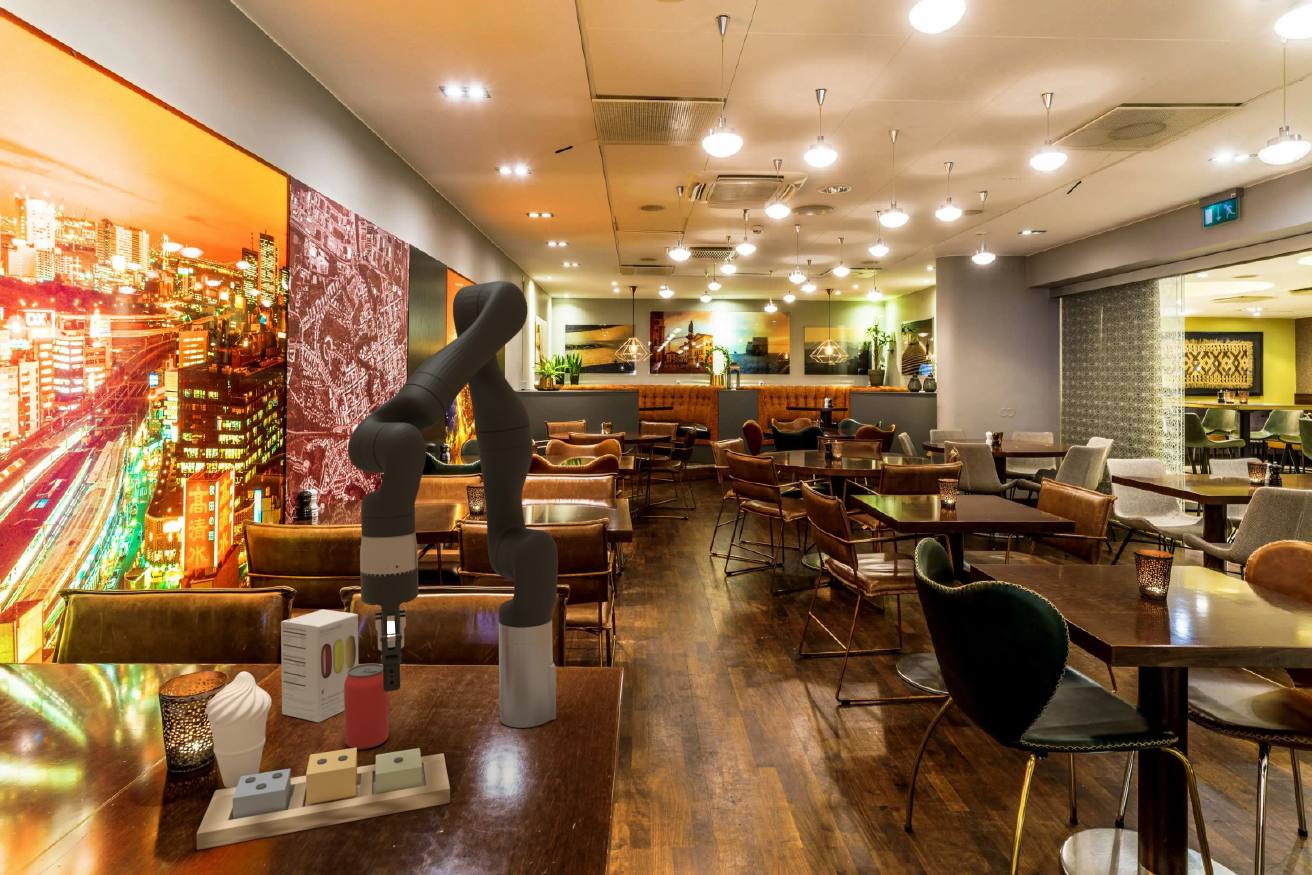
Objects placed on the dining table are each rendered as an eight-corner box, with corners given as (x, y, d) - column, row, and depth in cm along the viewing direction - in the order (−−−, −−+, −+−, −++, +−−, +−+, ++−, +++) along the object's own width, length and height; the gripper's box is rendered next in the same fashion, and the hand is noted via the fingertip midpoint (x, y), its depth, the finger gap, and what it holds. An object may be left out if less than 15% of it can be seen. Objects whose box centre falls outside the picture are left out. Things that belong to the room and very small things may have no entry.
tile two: (357, 775, 103) (356, 746, 103) (355, 795, 98) (355, 765, 98) (310, 782, 101) (310, 753, 101) (306, 804, 96) (305, 773, 96)
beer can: (373, 752, 114) (372, 677, 114) (336, 749, 116) (334, 674, 115) (396, 734, 121) (395, 663, 120) (361, 731, 122) (359, 660, 122)
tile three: (291, 796, 100) (290, 766, 100) (285, 819, 95) (285, 787, 95) (241, 805, 98) (241, 774, 98) (233, 828, 93) (232, 796, 93)
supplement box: (318, 723, 125) (316, 627, 125) (280, 715, 129) (278, 621, 128) (361, 703, 134) (359, 612, 133) (324, 695, 138) (322, 607, 137)
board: (443, 766, 110) (443, 753, 110) (450, 802, 100) (449, 788, 100) (216, 804, 99) (215, 790, 99) (196, 849, 89) (196, 833, 89)
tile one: (420, 774, 106) (419, 746, 106) (422, 794, 101) (421, 765, 101) (376, 782, 104) (375, 753, 104) (376, 803, 99) (375, 772, 99)
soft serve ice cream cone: (226, 802, 100) (223, 687, 99) (195, 785, 104) (192, 676, 104) (284, 776, 107) (282, 669, 107) (253, 762, 112) (251, 659, 111)
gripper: (420, 573, 96) (422, 702, 97) (415, 555, 109) (417, 669, 109) (359, 578, 93) (362, 711, 94) (361, 559, 106) (363, 676, 106)
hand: (391, 688), depth 102 cm, fingers closed
